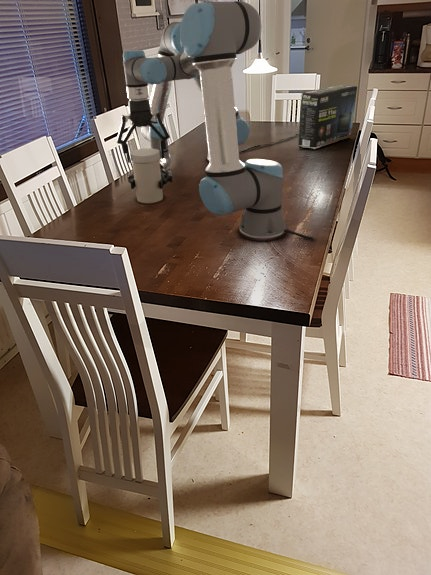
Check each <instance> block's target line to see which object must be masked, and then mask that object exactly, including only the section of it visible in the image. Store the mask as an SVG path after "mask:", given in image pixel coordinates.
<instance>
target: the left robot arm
mask: <svg viewBox="0 0 431 575" xmlns="http://www.w3.org/2000/svg"><path fill="white" fill-rule="evenodd" d="M181 22H182V21H173V22H170V23H169V24H167V25H166V26H165V28H164V29H163V31H162V34H161V38H160V42H159V46H158V47H159V48H158V52H157V56H158V57H167V56H177V55H180V54H181V53H183V52H184V49H183V48H182V45H181V40H180V27H181ZM192 80H193V82H194V84H195V85H196V87H197V89H198V91H199V92H200V94H201V95H202V91H201V82H200V73H199V75H198V76H197V77H196V78H192ZM173 81H174V80H173ZM173 81H167V82H162V83H160V84H153V85H152V90H151V95H150V99H149V100H150V108H151V113H156V112H159V113H160V118H161V121H162V122H163V124H164V126H165V128H166V130H167V126H166V124H165V123H164V118H165V115H166V110H167V106H168V103H169V98H170V95H171V94H170V93H171V88H172V85H173ZM235 114H236V126H237V138H238V146H240V145H242V144H244V143H245V142H246V141H247V139H248V138H249V135H250V125H249V123H248V122H247V121H246V120H245V119H244V118H242V116H241V114H240V112H239V110H238V108H237V107H235ZM150 122H151V123H152V124H153V125H154V126H155V128H156V129H157V130H158V131H159V132H160V133H161V134H162V135H163V136H164V135H165V134H164V132H163V130H162V128H161V127H160V125H159V123H158V121H157V119H155V118H154V117H152V119H151V121H150ZM140 131H141V135H142V136H143V138H144V139H145V140H147V141H148V142H149V143H150V148H152V149H157V150H159V151H160V142H159V140H161V138H160V137H159V136H158V135H157V134H156V133H155V131H154V130H153V129H152V128H151V127H150V126H149V125H148V126H147V127H143V126H142V127H140ZM167 131H168V130H167ZM165 143H166V149H163V151H164V159H162V158H161V153H160V159H159V160H160V170H161V179H160V181H159V186H160V189H162V190H163V188H164V185H167V184H168V182H169V183H173V175H172V171H171V168H169V167H170V165H171V162H172V158H171V154H170V150H169V141H168V139H166V141H165ZM257 145H258V146H256V145H253V146H254V147H252V146H250V147H251V148H249V147H248V149H247V148H244V149H242V150H243V151H241V150H240V151H241V152H240V153H245V152H247V151H249V150H251V149H255V148H259V147H261V146H260V145H261V144H257ZM206 158H207V159H206V160H207V162H209V153H208V152H207V155H206ZM127 181H128V183H129V184H130V189H131V190H134V188H135V181H134V173H133V172H132V173H131V174H129V175H128V176H127Z"/></svg>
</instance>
